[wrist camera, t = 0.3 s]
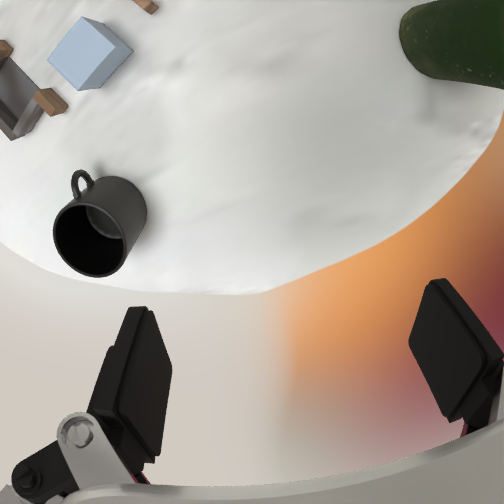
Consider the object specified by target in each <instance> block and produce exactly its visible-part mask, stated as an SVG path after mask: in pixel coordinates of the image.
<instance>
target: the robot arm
mask: <svg viewBox="0 0 504 504" xmlns="http://www.w3.org/2000/svg"><path fill="white" fill-rule="evenodd" d="M409 347H410V349H411V351H412V353H413V355H414V357H415V359H416V360H417V363H418V365H419V367H420V368H421V371H422V373H423V375H424V377H425V379H426V381H427V383H428V385H429V387H430V389H431V391H432V393H433V395H434V397H435V399H436V402H437V404H438V406H439V408H440V410H441V413H442V414H443V416H445V417H447V419H448V421H449V423H451V422H454V421H456V420H459V419H461V418H462V417H463V420H464V425H463V429H462V432H461V436H460V438H458V439H456V440H453V441H451V442H448V443H446V444H443V445H441V446H438V447H435V448H433V449H430V450H427V451H424V452H422V453H418V454H415V455H412V456H409V457H407V458H403V459H400V460H396V461H393V462H389V463H386V464H382V465H378V466H374V467H370V468H367V469H362V470H358V471H354V472H349V473H345V474H340V475H334V476H328V477H323V478H316V479H310V480H303V481H295V482H288V483H278V484H266V485H251V486H220V487H219V486H215V487H202V486H201V487H200V486H199V487H198V486H172V485H171V486H170V485H152V484H150V482H149V481H148V480H147V478H146V477H145V476H144V474H143V473H142V471H143V468H144V463H153V464H154V463H155V456H159V455H160V453H161V446H162V438H163V430H164V423H165V415H166V408H167V403H168V396H169V390H170V383H171V377H172V364H171V361H170V358H169V356H168V353H167V350H166V348H165V345H164V342H163V339H162V336H161V333H160V330H159V328H158V324H157V322H156V319H155V315H154V313H153V311H151V310H150V311H148V308H147V307H146V306H142V307H141V306H139V307H129V308H128V310H127V313H126V315H125V318H124V320H123V323H122V326H121V328H120V331H119V333H118V336H117V339H116V341H115V344H114V346H111V347H109V349H108V351H107V353H106V356H105V359H104V362H103V364H102V367H101V370H100V373H99V376H98V379H97V381H96V385H95V387H94V391H93V393H92V396H91V400H90V403H89V406H88V409H87V412H86V413H84V412H76V413H73V414H70V415H68V416H67V417H66V418H64V419H63V420H62V422H61V423H60V425H59V427H58V429H57V440H56V441H54V442H53V443H51V444H50V445H48V446H46V447H45V448H43V449H41V450H40V451H38V452H36V453H35V454H33V455H31V456H29V457H28V458H26V459H24V460H23V461H21V462H20V463H18V464H17V465H16V467H15V468H14V470H13V473H12V485H11V486H9V485H6V486H5V487H4V488H3V490H2V491H1V492H0V504H504V361H503V360H502V359H503V357H504V354H503V352H502V350H501V349H500V348H499V346H498V345H497V343H496V342H495V340H494V339H493V338H492V336H491V335H490V334H489V332H488V331H487V329H486V328H485V327H484V325H483V324H482V323H481V321H480V320H479V319H478V317H477V316H476V315H475V313H474V312H473V311H472V310H471V308H470V307H469V306H468V305H467V303H466V302H465V301H464V300H463V298H462V297H461V296H460V295H459V293H458V292H457V291H456V290H455V289H454V288H453V286H452V285H451V284H450V282H449V281H448V280H447V279H445V278H442V279H435V280H431V281H430V282H429V284H428V285H426V287H425V290H424V293H423V297H422V300H421V303H420V306H419V310H418V313H417V316H416V319H415V322H414V325H413V328H412V331H411V334H410V337H409Z"/></svg>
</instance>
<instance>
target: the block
mask: <svg viewBox="0 0 504 504" xmlns="http://www.w3.org/2000/svg"><path fill="white" fill-rule="evenodd" d="M132 52H133V50H132V49H131V48H130V47H129V46H127V45H126V44H125V43H124V42H123V41H122V40H121V39H120V38H119V37H118V36H117V35H115V34H114V33H113V32H112V31H111V30H110V29H109V28H108V27H106V26H105V25H104V24H103V23H100V22H97V21H94V20H91V19H88V18H85V17H81V18H80V19H79V20H78V21H77V22H76V23H75V25H74V26H73V27H72V28H71V29H70V31H69V32H68V33H67V34H66V35H65V37H64V38H63V39H62V40H61V42H60V43H59V44H58V45H57V47H56V48H55V49H54V51H53V52H52V53H51V55H50V56H49V57H48V59H47V61H48V62H49V63H50V64H51V65H52V66H53V67H54V68H55V69H56V70H57V71H58V72H59V73H60V74H61V75H62V76H63V77H64V78H65V79H66V80H67V81H68V82H69V83H70V84H71V85H72V86H73V87H74V88H75V89H76V90H77V91H81V90H88V89H96V88H100V87H101V86H102V85H103V84H104V83H105V82H106V80H107V79H108V78H109V77H110V76H111V75H112V74H113V72H114V71H115V70H116V69H117V68H118V67H119V66H120V65H121V64H122V63H123V62H124V61H125V59H126V58H127V57H128V56H129V55H130V54H131V53H132Z"/></svg>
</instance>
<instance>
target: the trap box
mask: <svg viewBox="0 0 504 504" xmlns="http://www.w3.org/2000/svg"><path fill="white" fill-rule="evenodd" d="M133 1H134V2H135V3H136V4H138V5H139V6H140V7H141V8H142V9H144V10H145V11H146V12H148V13H149V14H152V13H153V12H154V11H155V10H156V9H158V7H157V6H156V5H155V4H154V3H153V2H151V1H150V0H133ZM12 51H13V49H12V48H11V46H10V45H9V44H8V43H7V42H6V41H5V40H0V129H1V130H2V131H3V133H4V134H5V135H6V136H7V137H8V138H9V139H10V140H11V141H12V140H15V139H17V138H20V137H22V136H24V135H25V134H26V133H28V132H31V130H32V129H33V127H34V125H35V124H36V122H37V120H38V119H39V117H40V116H41V114H42V113H43V111H45V112H46V113H47V114H48V115H49V116H50V117H51V116H55V115H58V114H62V113H64V111H65V110H66V108H67V107H68V105H67V104H66V103H65V102H64V101H63V100H62V99H61V98H60V97H59V96H58V95H57V94H56V93H55V92H54V91H53V90H52V89H51V88H47V89H39V88H38V87H37V86H36V85H35V84H34V83H33V81H32V80H31V79H30V78H29V77H28V76H27V75H26V74H25V73H24V72H23V71H22V70H21V69H20V68H19V67H18V66H17V65H16V64H15V63H14V61H13V60H12V59H11V58H10V57H9V56H10V54H11V53H12Z"/></svg>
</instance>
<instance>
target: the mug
mask: <svg viewBox="0 0 504 504" xmlns="http://www.w3.org/2000/svg"><path fill="white" fill-rule="evenodd" d="M79 177H82V178H83V179H84V180H85V181H86V183H87V184H86V185H87V188H86V189H84V190H83V191H82V192H81V191H80V190H79V187H78V179H79ZM71 188H72V192H73V196H74V199H73V200H72V201H71V202H69V203H68V204H67V205H66V206H65V207H64V208H63V209H62V210H61V211H60V212H59V213H58V215H57V217H56V219H55V222H54V226H53V238H54V243H55V246H56V249H57V251H58V253H59V254H60V256H61V257H62V259H63V260H64V261H65V262H66V263H67V264H68V265H69V266H70V267H71V268H72V269H74V270H75V271H77V272H79V273H80V274H83V275H85V276H89V277H95V278H101V277H107V276H109V275H112V274H113V273H115V272H117V271H118V270H119V269H120V268H121V266H122V265H123V264H124V262H125V260H126V258H127V256H128V254H129V252H130V250H131V249H132V247H133V245H134V243H135V241H136V240H137V238H138V236H139V234H140V232H141V231H142V229H143V227H144V225H145V221H146V206H145V202H144V199H143V197H142V195H141V194H140V192H139V191H138V189H137V188H136V187H135V186H134V185H132V184H131V183H130V182H128V181H126V180H124V179H122V178H118V177H110V176H108V177H103V178H100V179H97V180H96V181H93V180H92V179H91V177H90V175H89V174H88V173H87V172H86V171H84V170H77V171H75V172H74V174H73V175H72V180H71Z"/></svg>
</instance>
